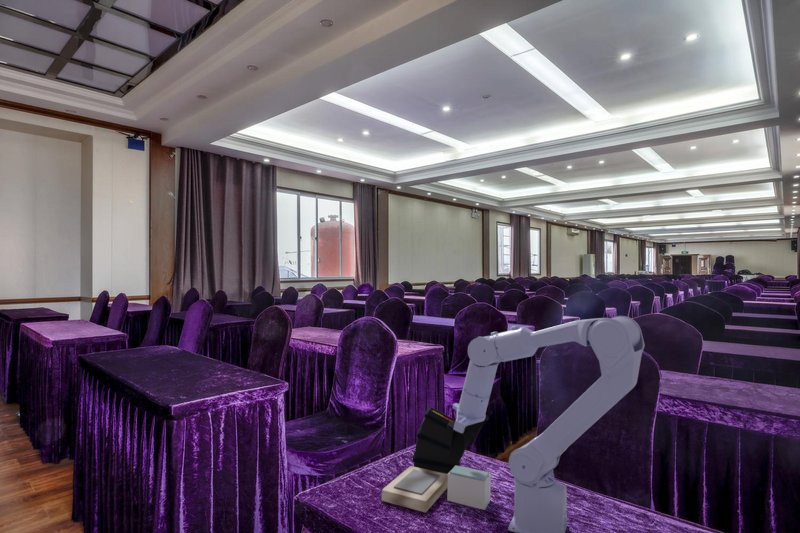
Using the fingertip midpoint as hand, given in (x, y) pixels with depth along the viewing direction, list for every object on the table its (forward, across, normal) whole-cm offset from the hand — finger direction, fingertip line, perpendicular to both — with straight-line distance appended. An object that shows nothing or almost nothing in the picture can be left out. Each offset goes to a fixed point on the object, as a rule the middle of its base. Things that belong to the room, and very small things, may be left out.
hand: (461, 451), depth 95 cm
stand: (+12, +2, -6) cm, 14 cm away
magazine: (+13, -10, -6) cm, 17 cm away
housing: (+9, 0, +4) cm, 10 cm away
